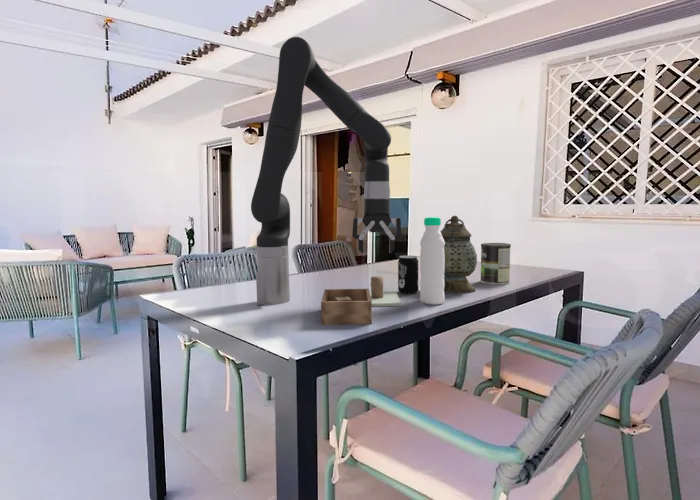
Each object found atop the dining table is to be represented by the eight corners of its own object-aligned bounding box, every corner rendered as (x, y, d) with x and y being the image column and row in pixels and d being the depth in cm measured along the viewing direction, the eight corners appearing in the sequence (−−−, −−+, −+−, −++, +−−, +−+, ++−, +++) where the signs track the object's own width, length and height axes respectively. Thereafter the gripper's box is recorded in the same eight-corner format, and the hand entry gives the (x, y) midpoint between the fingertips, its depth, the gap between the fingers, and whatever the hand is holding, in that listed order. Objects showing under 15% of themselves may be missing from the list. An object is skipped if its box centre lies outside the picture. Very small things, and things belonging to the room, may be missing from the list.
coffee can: (482, 284, 152) (483, 245, 150) (478, 279, 162) (478, 242, 160) (513, 285, 150) (514, 245, 149) (506, 280, 160) (507, 242, 159)
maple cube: (338, 313, 112) (338, 300, 111) (335, 310, 115) (334, 297, 115) (351, 312, 113) (351, 299, 112) (348, 309, 116) (347, 296, 116)
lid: (356, 310, 119) (356, 282, 118) (355, 297, 136) (355, 273, 135) (401, 309, 119) (401, 281, 118) (395, 296, 136) (395, 272, 135)
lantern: (485, 290, 141) (486, 215, 139) (456, 296, 133) (456, 216, 131) (453, 284, 153) (453, 214, 150) (424, 289, 145) (424, 215, 142)
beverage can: (417, 294, 136) (417, 257, 135) (397, 294, 138) (397, 257, 136) (418, 290, 143) (418, 255, 142) (399, 290, 144) (399, 255, 143)
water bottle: (439, 306, 120) (439, 217, 118) (416, 303, 124) (416, 217, 122) (447, 301, 126) (448, 216, 124) (425, 298, 130) (425, 217, 128)
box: (321, 327, 101) (320, 302, 101) (325, 310, 117) (324, 289, 117) (371, 326, 101) (371, 301, 101) (368, 310, 117) (368, 288, 117)
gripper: (352, 197, 121) (352, 254, 122) (403, 197, 121) (402, 254, 122) (352, 197, 128) (352, 251, 130) (399, 198, 128) (398, 251, 130)
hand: (376, 252), depth 126 cm, fingers open, 8 cm apart
